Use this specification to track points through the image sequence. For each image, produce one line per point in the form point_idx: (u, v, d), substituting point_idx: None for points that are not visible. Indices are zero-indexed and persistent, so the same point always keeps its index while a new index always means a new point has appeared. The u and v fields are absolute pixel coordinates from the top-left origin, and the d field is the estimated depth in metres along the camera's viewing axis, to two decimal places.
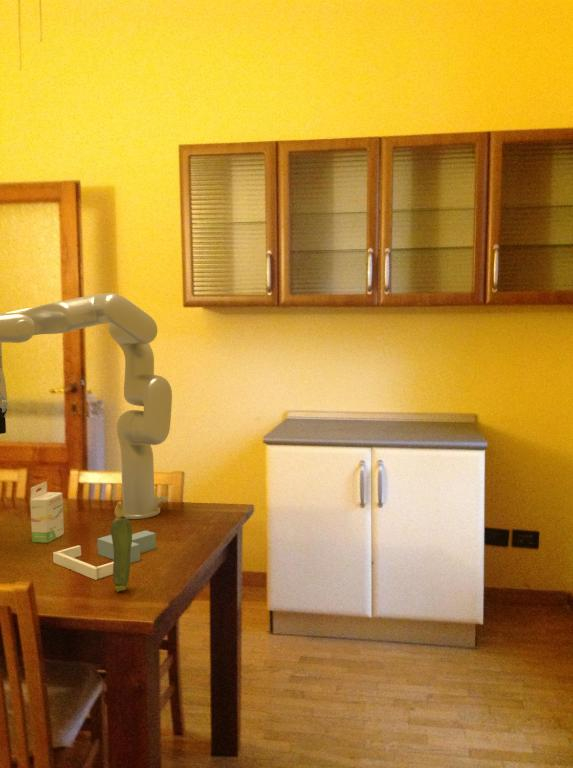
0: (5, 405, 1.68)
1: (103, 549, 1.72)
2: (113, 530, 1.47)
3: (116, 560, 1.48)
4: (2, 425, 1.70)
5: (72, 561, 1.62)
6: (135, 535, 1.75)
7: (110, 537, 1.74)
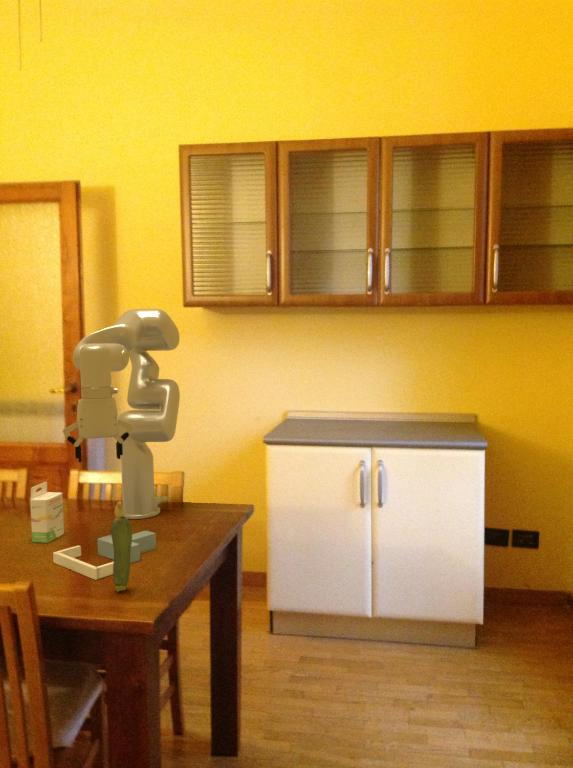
0: None
1: (104, 549, 1.72)
2: (113, 530, 1.47)
3: (116, 560, 1.48)
4: None
5: (72, 561, 1.62)
6: (135, 535, 1.75)
7: (110, 537, 1.74)
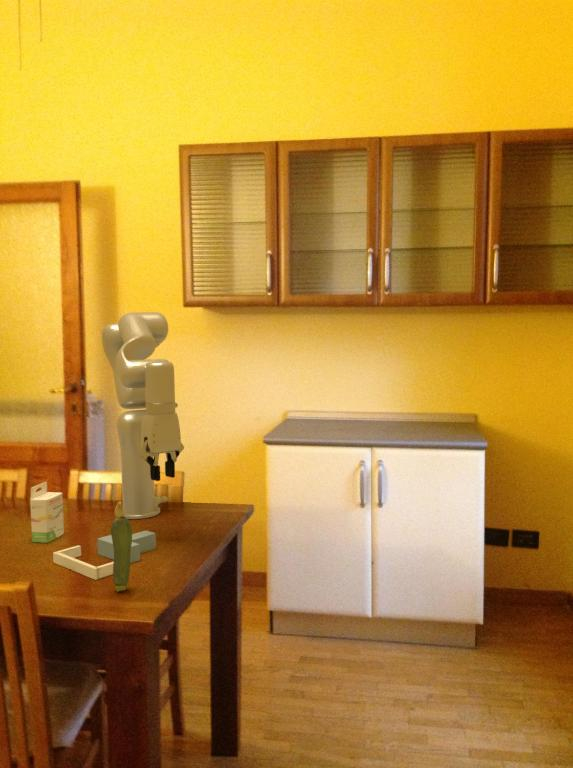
0: None
1: (104, 549, 1.72)
2: (113, 530, 1.47)
3: (116, 560, 1.48)
4: None
5: (72, 561, 1.62)
6: (135, 535, 1.75)
7: (110, 537, 1.74)
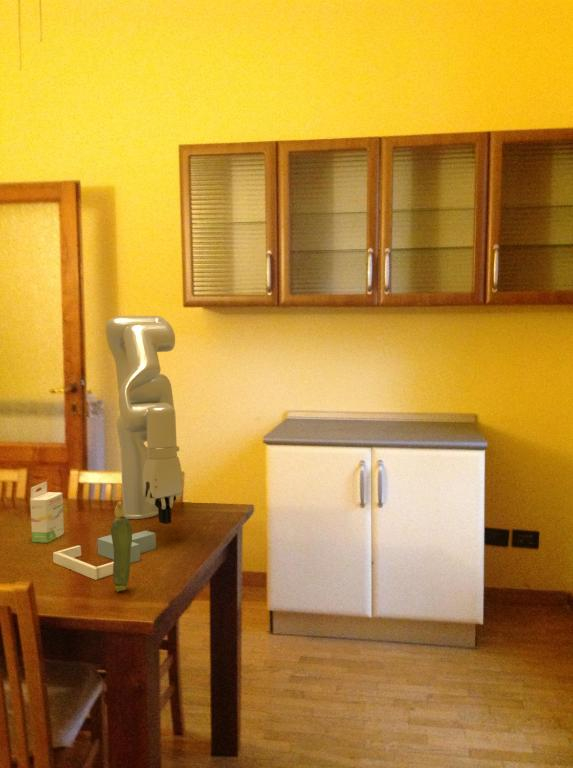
0: None
1: (104, 549, 1.72)
2: (113, 530, 1.47)
3: (116, 560, 1.48)
4: None
5: (72, 561, 1.62)
6: (135, 535, 1.75)
7: (110, 537, 1.74)
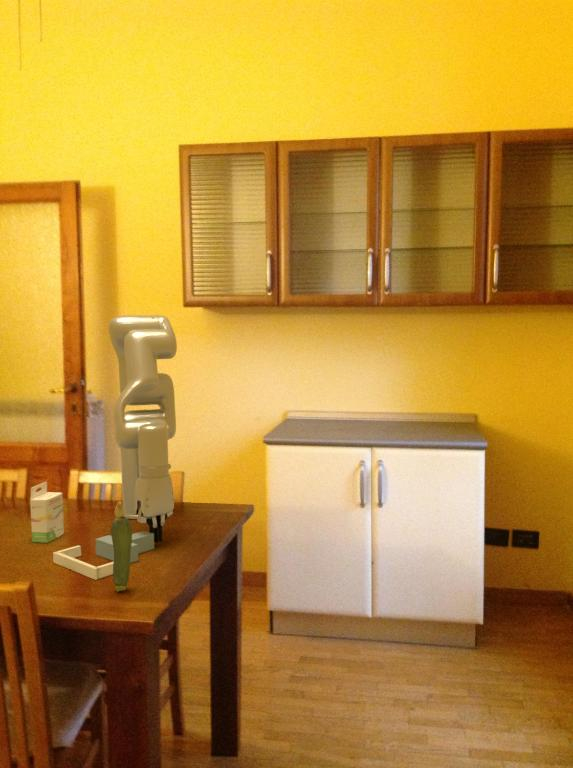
0: None
1: (102, 550, 1.72)
2: (113, 530, 1.47)
3: (116, 560, 1.48)
4: None
5: (72, 561, 1.62)
6: (133, 536, 1.75)
7: (108, 537, 1.74)
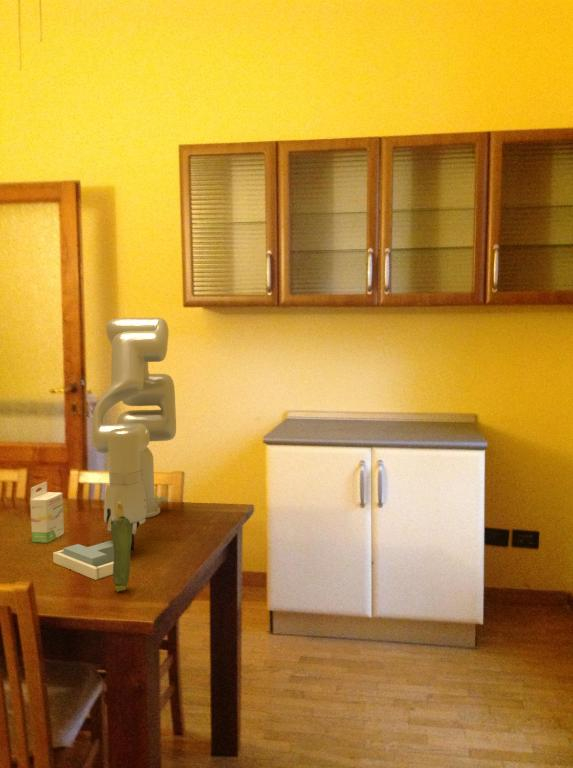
0: None
1: None
2: (113, 530, 1.47)
3: (116, 560, 1.48)
4: None
5: (72, 561, 1.62)
6: (103, 545, 1.68)
7: (77, 546, 1.67)
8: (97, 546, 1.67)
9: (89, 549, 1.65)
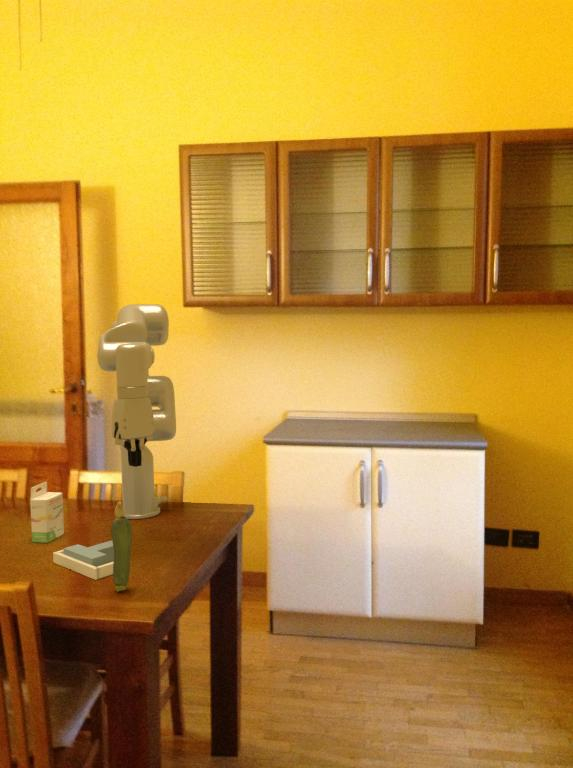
0: None
1: None
2: (113, 530, 1.47)
3: (116, 560, 1.48)
4: None
5: (72, 561, 1.62)
6: (103, 545, 1.68)
7: (77, 547, 1.67)
8: (97, 546, 1.67)
9: (89, 549, 1.65)
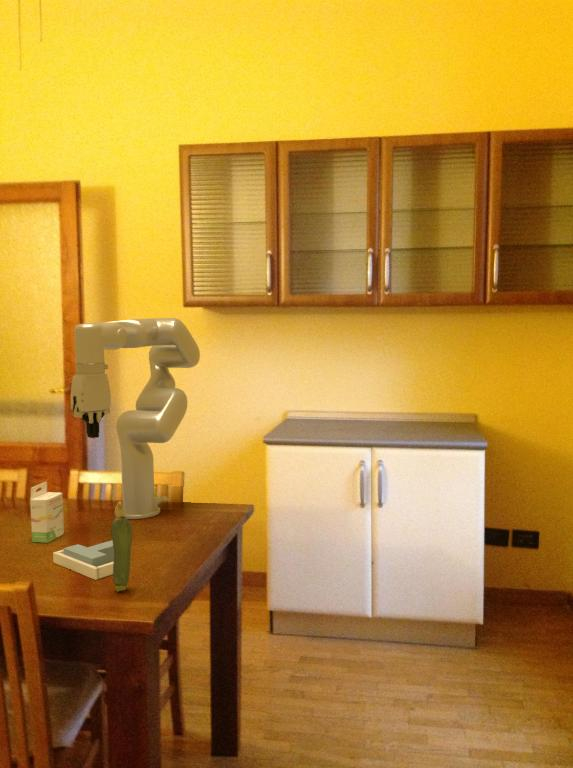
0: None
1: None
2: (113, 530, 1.47)
3: (116, 560, 1.48)
4: None
5: (72, 561, 1.62)
6: (103, 545, 1.68)
7: (77, 547, 1.67)
8: (97, 546, 1.67)
9: (89, 549, 1.65)
